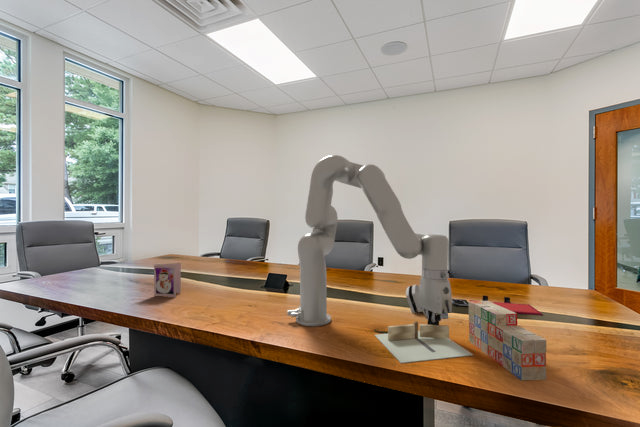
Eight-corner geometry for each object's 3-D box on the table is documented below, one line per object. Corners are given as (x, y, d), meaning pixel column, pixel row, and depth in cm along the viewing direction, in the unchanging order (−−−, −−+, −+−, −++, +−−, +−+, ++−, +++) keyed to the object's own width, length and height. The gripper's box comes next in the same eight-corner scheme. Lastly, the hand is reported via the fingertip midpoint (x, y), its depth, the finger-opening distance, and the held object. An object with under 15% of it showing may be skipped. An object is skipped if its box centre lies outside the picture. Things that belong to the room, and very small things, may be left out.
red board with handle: (449, 299, 132) (455, 310, 118) (449, 293, 132) (456, 303, 118) (525, 304, 125) (542, 317, 110) (525, 298, 125) (542, 310, 110)
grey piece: (425, 314, 111) (415, 289, 113) (413, 317, 113) (403, 292, 115) (428, 302, 127) (419, 280, 128) (417, 305, 129) (409, 283, 130)
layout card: (400, 363, 75) (400, 362, 75) (374, 335, 93) (374, 334, 93) (473, 355, 79) (473, 354, 79) (434, 329, 97) (434, 329, 97)
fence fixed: (389, 342, 88) (389, 325, 88) (387, 340, 89) (387, 323, 89) (418, 339, 90) (418, 322, 90) (416, 337, 91) (416, 321, 91)
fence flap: (420, 337, 89) (419, 325, 89) (419, 335, 90) (419, 324, 90) (449, 338, 88) (449, 326, 88) (448, 337, 89) (448, 325, 89)
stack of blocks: (547, 380, 67) (546, 326, 67) (521, 381, 67) (520, 327, 67) (488, 340, 89) (488, 299, 89) (468, 341, 88) (467, 300, 88)
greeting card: (152, 296, 139) (152, 265, 139) (163, 292, 146) (163, 262, 146) (174, 297, 137) (174, 265, 137) (184, 293, 144) (184, 263, 144)
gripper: (463, 278, 86) (461, 341, 86) (426, 269, 100) (425, 323, 100) (443, 280, 84) (442, 344, 84) (408, 270, 97) (407, 325, 97)
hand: (433, 332), depth 92 cm, fingers closed
